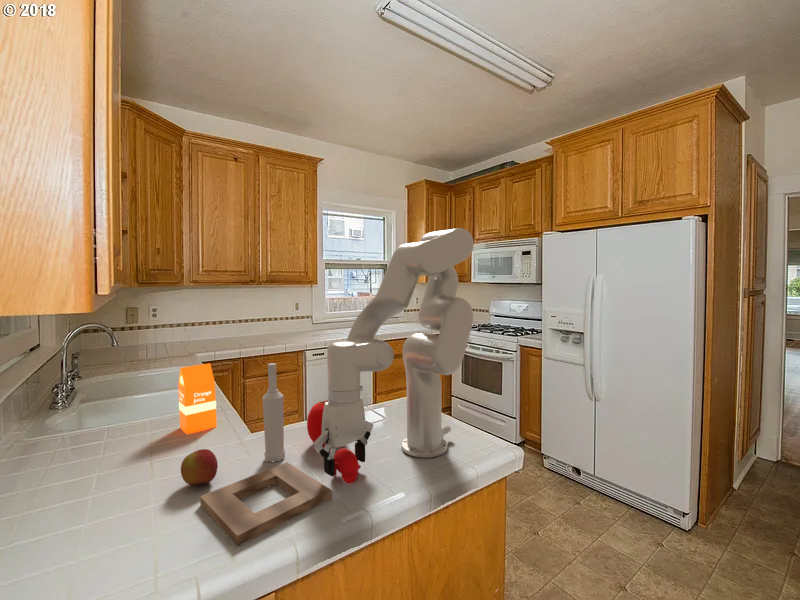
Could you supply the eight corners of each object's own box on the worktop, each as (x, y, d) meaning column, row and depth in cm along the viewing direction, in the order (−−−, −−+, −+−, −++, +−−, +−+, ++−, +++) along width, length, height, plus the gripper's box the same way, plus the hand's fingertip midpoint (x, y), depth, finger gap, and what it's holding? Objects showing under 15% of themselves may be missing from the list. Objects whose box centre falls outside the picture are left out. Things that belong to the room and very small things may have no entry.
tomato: (329, 456, 101) (328, 409, 100) (298, 447, 107) (296, 402, 106) (358, 439, 111) (357, 397, 111) (328, 431, 117) (327, 391, 117)
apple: (222, 473, 93) (220, 441, 92) (213, 491, 85) (212, 456, 85) (188, 477, 91) (186, 444, 91) (175, 496, 83) (174, 460, 83)
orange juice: (179, 427, 122) (177, 365, 121) (209, 420, 128) (207, 361, 127) (186, 434, 116) (183, 369, 115) (217, 426, 122) (214, 365, 121)
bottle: (279, 463, 97) (275, 366, 96) (260, 462, 98) (257, 366, 97) (288, 454, 102) (286, 362, 101) (271, 453, 103) (268, 361, 102)
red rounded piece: (325, 458, 93) (327, 455, 88) (347, 445, 96) (350, 441, 91) (341, 489, 91) (344, 488, 86) (362, 475, 93) (367, 473, 88)
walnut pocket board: (287, 470, 94) (287, 462, 94) (331, 498, 82) (330, 489, 82) (200, 505, 80) (200, 496, 80) (237, 546, 67) (237, 535, 67)
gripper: (362, 384, 99) (362, 450, 100) (303, 400, 86) (304, 475, 87) (382, 390, 93) (382, 459, 94) (322, 407, 81) (324, 487, 82)
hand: (345, 466), depth 91 cm, fingers open, 8 cm apart
